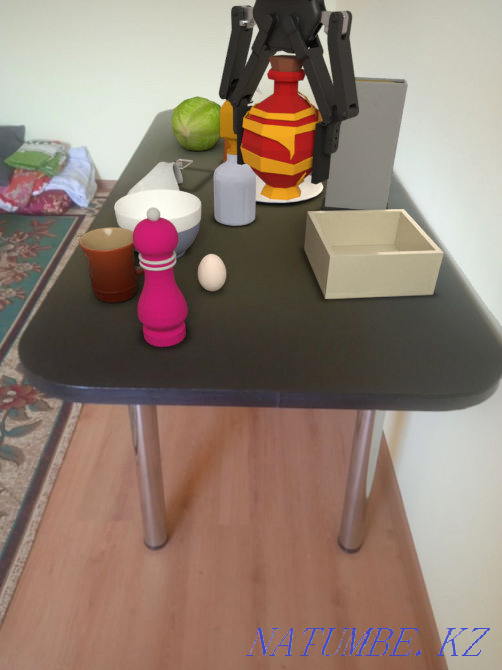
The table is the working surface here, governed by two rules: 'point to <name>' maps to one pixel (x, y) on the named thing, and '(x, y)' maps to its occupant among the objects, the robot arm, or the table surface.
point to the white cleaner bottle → (233, 180)
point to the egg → (211, 272)
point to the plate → (306, 193)
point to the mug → (111, 263)
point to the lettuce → (197, 123)
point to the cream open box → (371, 254)
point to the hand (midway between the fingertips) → (281, 171)
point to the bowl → (162, 213)
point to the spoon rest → (160, 178)
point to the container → (367, 148)
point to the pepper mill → (159, 281)
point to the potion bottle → (281, 132)
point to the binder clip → (182, 163)
